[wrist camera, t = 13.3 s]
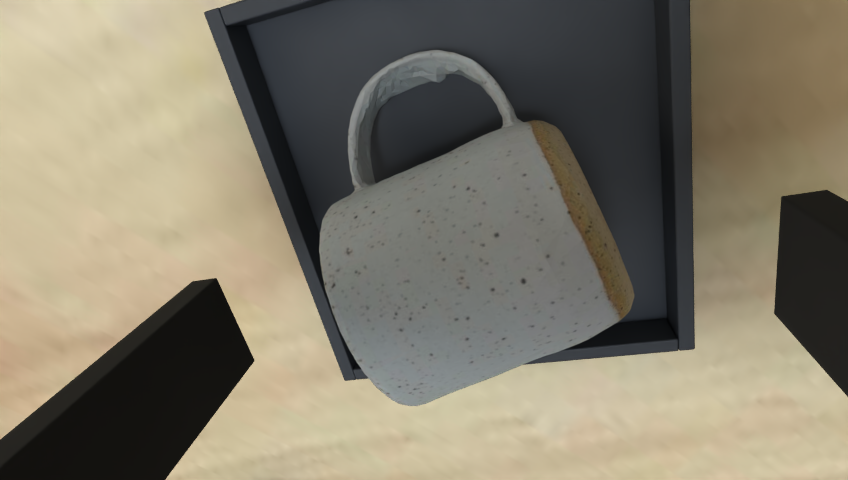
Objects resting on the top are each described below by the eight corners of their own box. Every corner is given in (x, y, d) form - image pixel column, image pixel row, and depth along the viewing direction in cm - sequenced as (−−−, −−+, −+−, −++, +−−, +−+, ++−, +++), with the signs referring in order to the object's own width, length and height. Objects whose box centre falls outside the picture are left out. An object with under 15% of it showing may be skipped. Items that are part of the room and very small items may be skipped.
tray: (665, -119, 14) (688, -138, 13) (678, 321, 21) (695, 349, 19) (233, 12, 18) (203, 12, 16) (356, 354, 24) (344, 381, 22)
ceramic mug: (616, 253, 19) (679, 382, 12) (440, 321, 22) (410, 459, 15) (500, -1, 16) (498, -23, 9) (312, 114, 19) (199, 166, 12)
